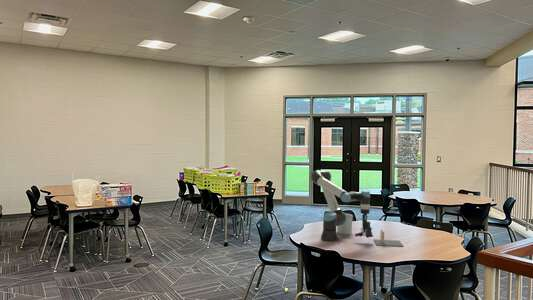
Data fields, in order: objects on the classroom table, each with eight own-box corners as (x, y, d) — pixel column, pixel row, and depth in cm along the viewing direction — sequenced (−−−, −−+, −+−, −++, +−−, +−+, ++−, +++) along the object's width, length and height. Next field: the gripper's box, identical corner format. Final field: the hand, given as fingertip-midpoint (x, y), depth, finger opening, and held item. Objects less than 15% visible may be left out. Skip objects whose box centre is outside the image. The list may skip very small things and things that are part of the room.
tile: (382, 243, 332) (382, 232, 332) (380, 240, 342) (380, 229, 342) (384, 243, 332) (384, 232, 332) (382, 240, 342) (382, 229, 342)
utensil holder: (350, 231, 381) (350, 213, 381) (354, 234, 366) (354, 216, 366) (335, 231, 381) (335, 213, 381) (338, 234, 366) (338, 216, 366)
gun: (351, 220, 342) (368, 217, 340) (356, 239, 342) (373, 235, 339) (352, 221, 339) (369, 217, 337) (356, 239, 339) (373, 236, 337)
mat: (376, 245, 329) (376, 244, 329) (373, 240, 347) (373, 239, 347) (403, 246, 326) (403, 245, 326) (399, 241, 344) (399, 240, 344)
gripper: (370, 210, 330) (369, 238, 331) (368, 207, 346) (367, 233, 347) (361, 210, 331) (360, 237, 332) (359, 206, 347) (358, 233, 348)
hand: (363, 235), depth 339 cm, fingers closed on gun, 3 cm apart
